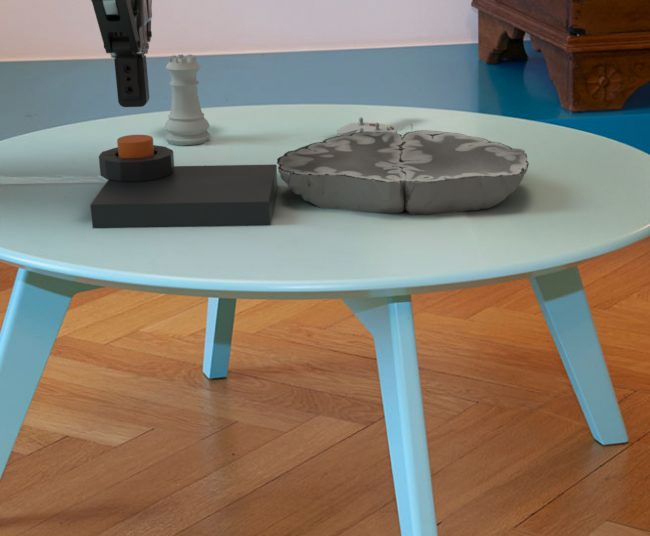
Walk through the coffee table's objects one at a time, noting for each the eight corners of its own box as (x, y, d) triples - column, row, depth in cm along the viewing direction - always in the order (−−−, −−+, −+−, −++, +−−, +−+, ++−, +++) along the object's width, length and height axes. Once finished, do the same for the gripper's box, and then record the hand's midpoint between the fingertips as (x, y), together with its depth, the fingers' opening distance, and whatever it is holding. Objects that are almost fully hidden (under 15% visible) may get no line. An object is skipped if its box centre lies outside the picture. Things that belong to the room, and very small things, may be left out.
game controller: (330, 154, 103) (329, 125, 102) (356, 128, 113) (356, 102, 112) (391, 156, 102) (391, 127, 101) (412, 129, 112) (412, 103, 111)
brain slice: (514, 163, 99) (516, 129, 97) (535, 220, 83) (537, 180, 82) (290, 164, 100) (289, 131, 99) (268, 220, 84) (267, 181, 83)
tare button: (115, 162, 89) (113, 142, 88) (122, 153, 91) (120, 134, 91) (151, 161, 89) (149, 142, 88) (156, 153, 91) (155, 134, 91)
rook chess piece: (185, 148, 106) (179, 61, 103) (155, 141, 109) (148, 57, 106) (220, 139, 109) (216, 55, 106) (190, 133, 112) (184, 51, 109)
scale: (81, 229, 83) (76, 183, 82) (111, 187, 94) (107, 145, 93) (270, 226, 83) (268, 179, 81) (277, 184, 94) (276, 142, 92)
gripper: (80, -133, 88) (102, 90, 95) (38, -133, 76) (68, 124, 82) (176, -136, 88) (192, 88, 95) (150, -136, 76) (170, 121, 82)
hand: (134, 104), depth 89 cm, fingers closed
